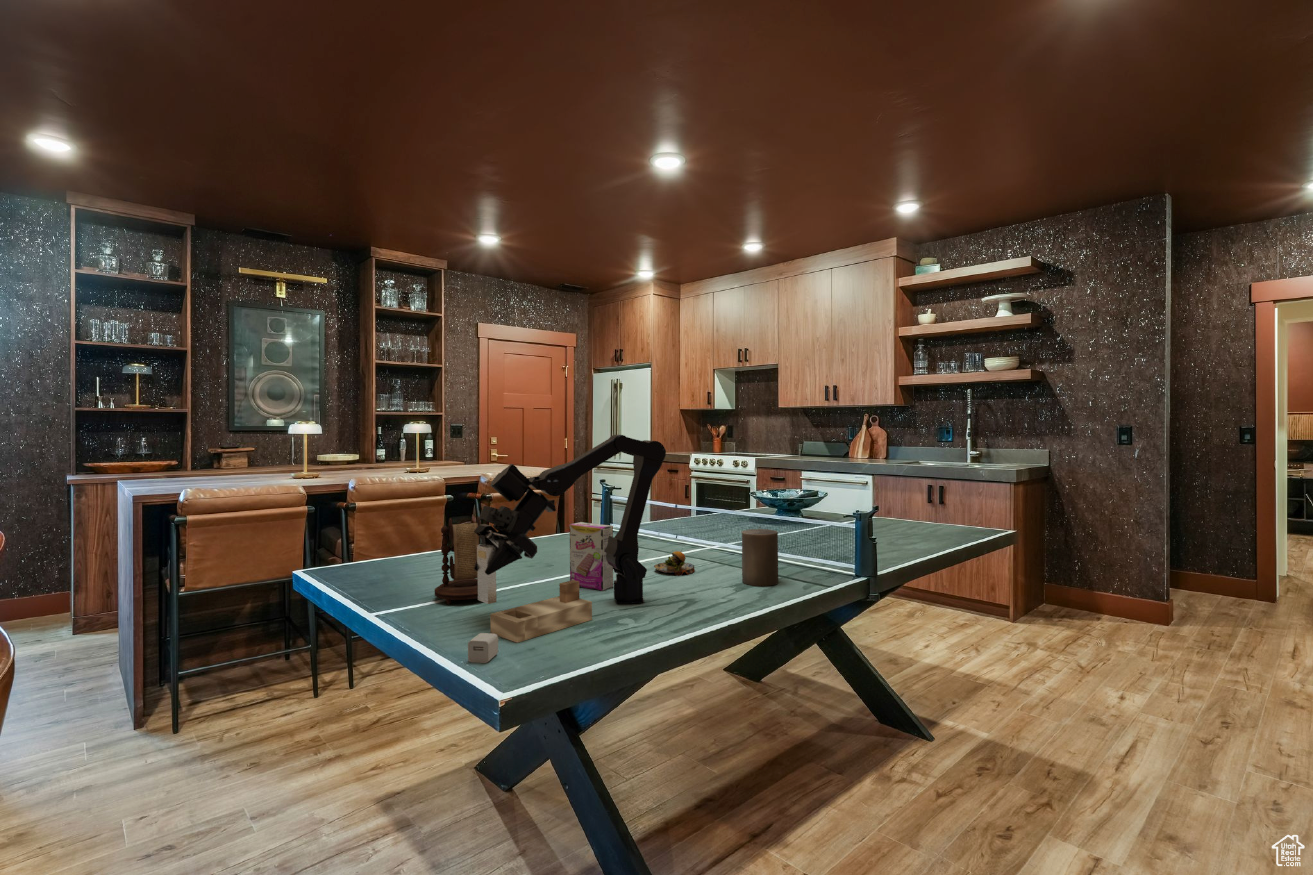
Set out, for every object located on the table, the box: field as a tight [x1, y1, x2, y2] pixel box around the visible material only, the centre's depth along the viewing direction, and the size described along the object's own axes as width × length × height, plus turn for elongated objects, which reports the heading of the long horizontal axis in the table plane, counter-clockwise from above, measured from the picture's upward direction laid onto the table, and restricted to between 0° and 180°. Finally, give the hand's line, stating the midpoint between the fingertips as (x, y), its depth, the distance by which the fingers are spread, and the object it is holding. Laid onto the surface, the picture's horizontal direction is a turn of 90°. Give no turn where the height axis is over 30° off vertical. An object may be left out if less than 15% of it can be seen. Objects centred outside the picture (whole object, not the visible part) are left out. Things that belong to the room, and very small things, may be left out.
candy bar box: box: [569, 521, 614, 592], centre depth 176 cm, size 11×5×16 cm, turn 58°
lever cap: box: [477, 543, 497, 605], centre depth 145 cm, size 2×4×12 cm, turn 42°
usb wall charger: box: [467, 632, 500, 664], centre depth 125 cm, size 4×7×4 cm, turn 171°
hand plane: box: [489, 580, 593, 644], centre depth 143 cm, size 20×9×8 cm, turn 138°
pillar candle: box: [741, 526, 779, 587], centre depth 180 cm, size 10×10×15 cm
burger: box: [653, 547, 696, 577], centre depth 194 cm, size 12×12×8 cm
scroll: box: [434, 515, 497, 606], centre depth 166 cm, size 15×15×20 cm
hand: (480, 571), depth 144 cm, fingers closed on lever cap, 4 cm apart
